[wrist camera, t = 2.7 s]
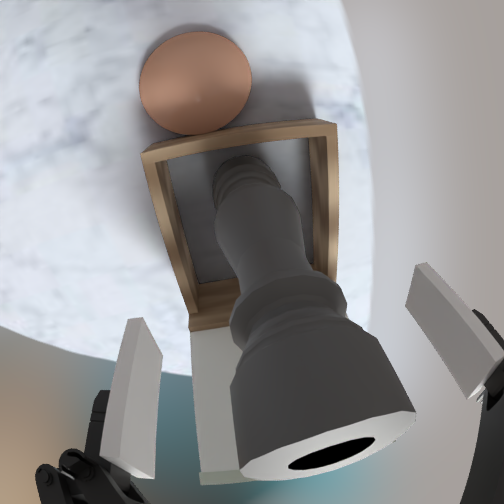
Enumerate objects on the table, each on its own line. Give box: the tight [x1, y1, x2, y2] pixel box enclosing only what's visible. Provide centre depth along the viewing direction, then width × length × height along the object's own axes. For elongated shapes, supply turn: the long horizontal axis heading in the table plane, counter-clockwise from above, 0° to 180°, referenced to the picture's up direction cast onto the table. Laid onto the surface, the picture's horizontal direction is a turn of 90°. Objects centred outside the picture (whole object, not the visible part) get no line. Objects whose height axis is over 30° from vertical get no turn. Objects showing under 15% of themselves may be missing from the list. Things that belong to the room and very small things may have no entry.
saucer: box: [139, 32, 252, 135], centre depth 21 cm, size 10×10×1 cm
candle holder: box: [213, 155, 416, 480], centre depth 17 cm, size 6×6×25 cm
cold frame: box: [140, 119, 339, 332], centre depth 26 cm, size 25×16×12 cm, turn 7°
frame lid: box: [190, 314, 396, 485], centre depth 23 cm, size 4×16×15 cm, turn 97°
